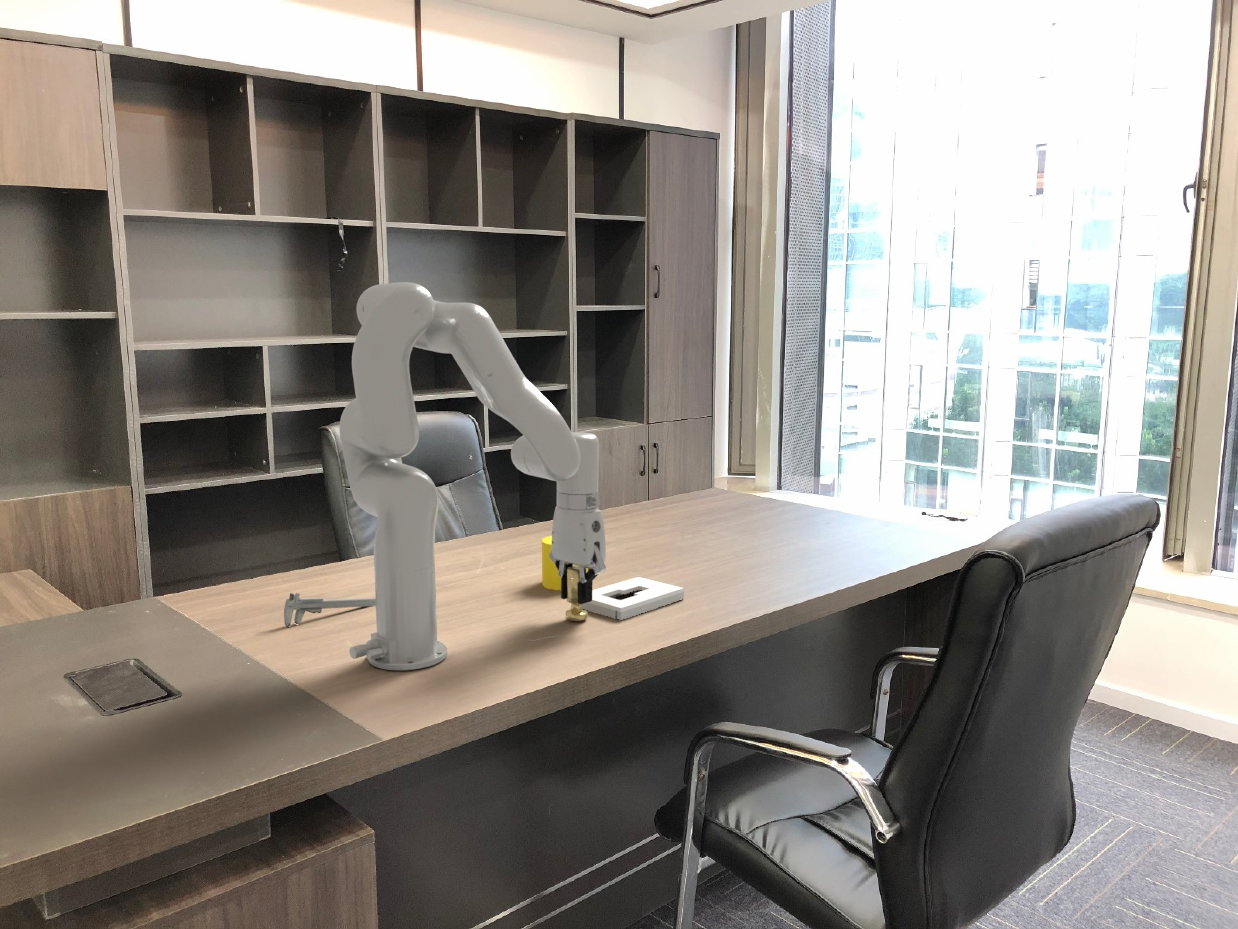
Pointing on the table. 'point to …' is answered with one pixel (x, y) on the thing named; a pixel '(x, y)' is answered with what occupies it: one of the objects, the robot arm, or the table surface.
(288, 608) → the caliper
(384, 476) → the robot arm
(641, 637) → the table surface
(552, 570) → the yellow toilet paper roll
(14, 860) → the table surface
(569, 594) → the brass peg
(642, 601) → the keyhole plate
